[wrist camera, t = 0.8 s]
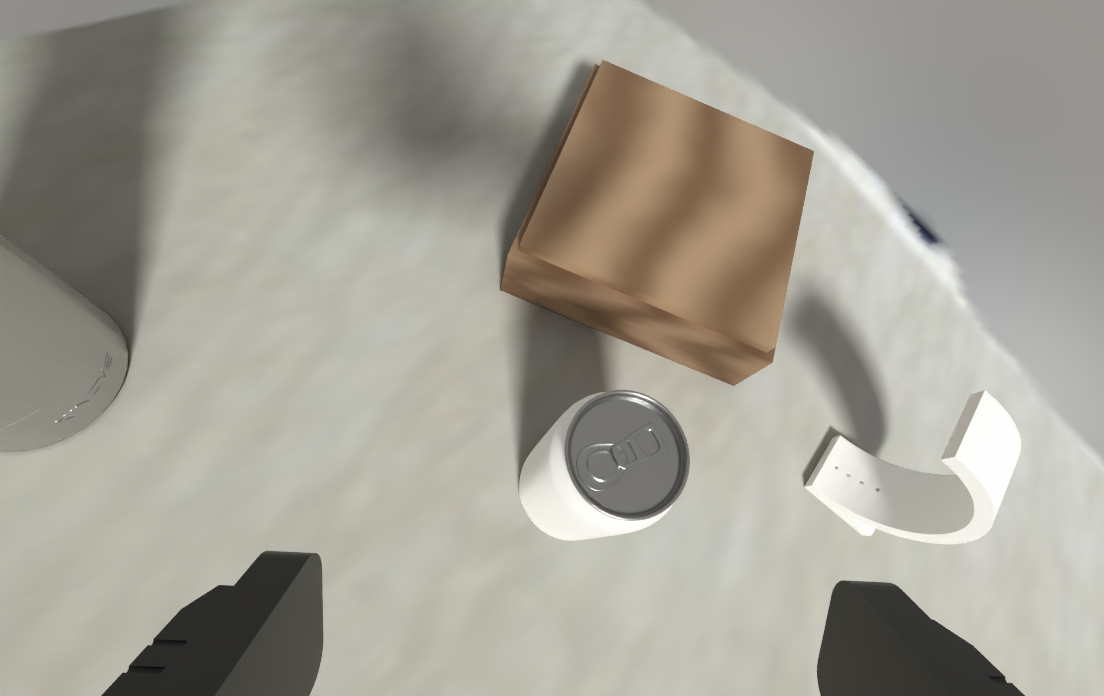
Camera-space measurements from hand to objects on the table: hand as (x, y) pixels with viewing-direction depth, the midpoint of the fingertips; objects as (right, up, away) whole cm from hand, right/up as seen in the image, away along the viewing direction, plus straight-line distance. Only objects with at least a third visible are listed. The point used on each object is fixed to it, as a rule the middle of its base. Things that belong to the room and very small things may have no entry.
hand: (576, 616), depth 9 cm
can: (+1, -5, +26) cm, 27 cm away
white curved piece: (+21, -6, +30) cm, 37 cm away
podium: (+7, +13, +34) cm, 37 cm away
